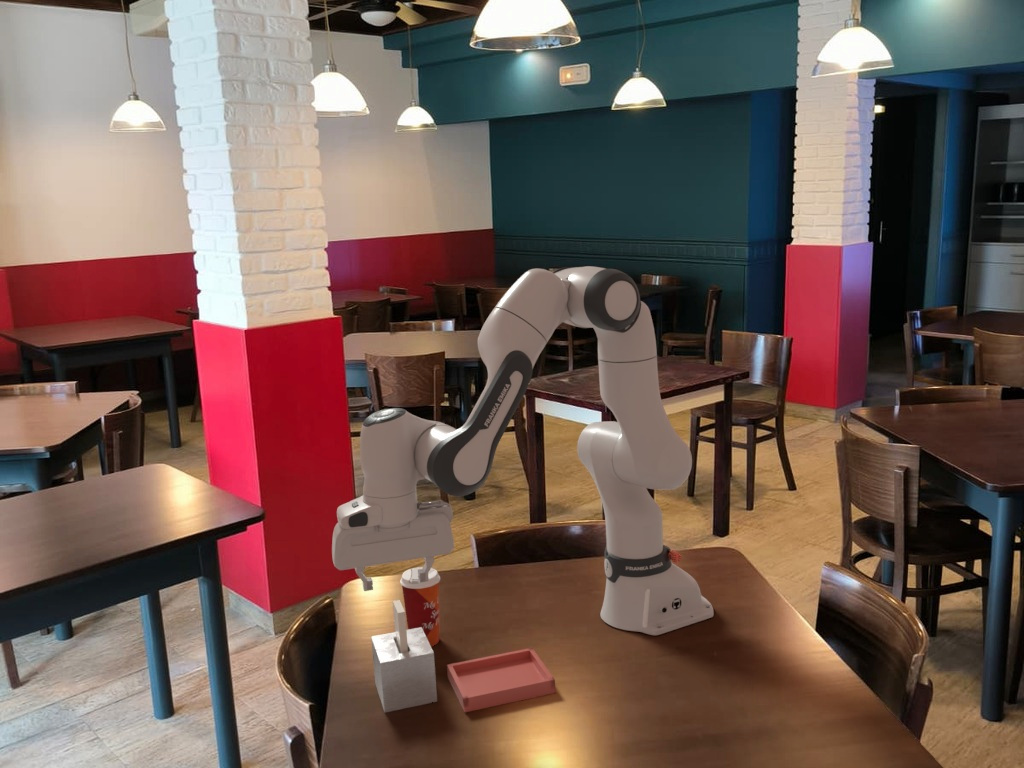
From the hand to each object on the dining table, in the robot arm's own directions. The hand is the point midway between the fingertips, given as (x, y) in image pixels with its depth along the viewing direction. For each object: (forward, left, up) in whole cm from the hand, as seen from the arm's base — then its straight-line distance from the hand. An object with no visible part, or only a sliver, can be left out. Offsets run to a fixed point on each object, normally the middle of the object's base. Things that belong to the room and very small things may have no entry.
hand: (396, 585), depth 150 cm
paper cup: (-7, -17, -20) cm, 27 cm away
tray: (-16, +4, -20) cm, 26 cm away
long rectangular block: (0, 0, -16) cm, 16 cm away
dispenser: (0, 0, -20) cm, 20 cm away
